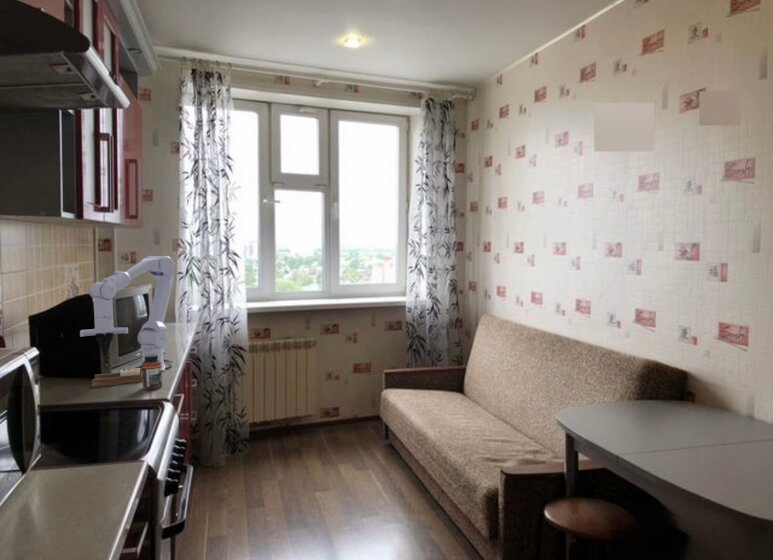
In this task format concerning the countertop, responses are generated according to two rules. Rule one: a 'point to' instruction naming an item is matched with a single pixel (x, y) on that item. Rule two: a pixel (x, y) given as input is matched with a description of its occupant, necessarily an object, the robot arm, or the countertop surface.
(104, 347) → the robot arm
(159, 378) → the supplement bottle
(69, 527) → the countertop surface
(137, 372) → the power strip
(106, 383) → the brown wooden frame
